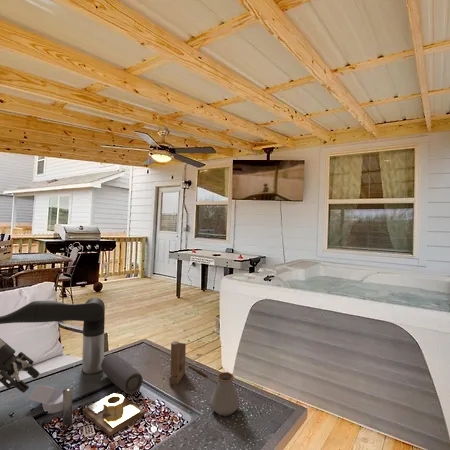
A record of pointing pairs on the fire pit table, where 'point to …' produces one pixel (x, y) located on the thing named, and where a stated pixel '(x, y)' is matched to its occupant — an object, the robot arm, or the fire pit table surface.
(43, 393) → the wedge on round base
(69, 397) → the pin
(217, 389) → the coffee pot
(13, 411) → the fire pit table surface
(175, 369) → the wooden block
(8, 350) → the robot arm
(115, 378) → the bluetooth speaker
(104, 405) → the hinge
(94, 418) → the board
